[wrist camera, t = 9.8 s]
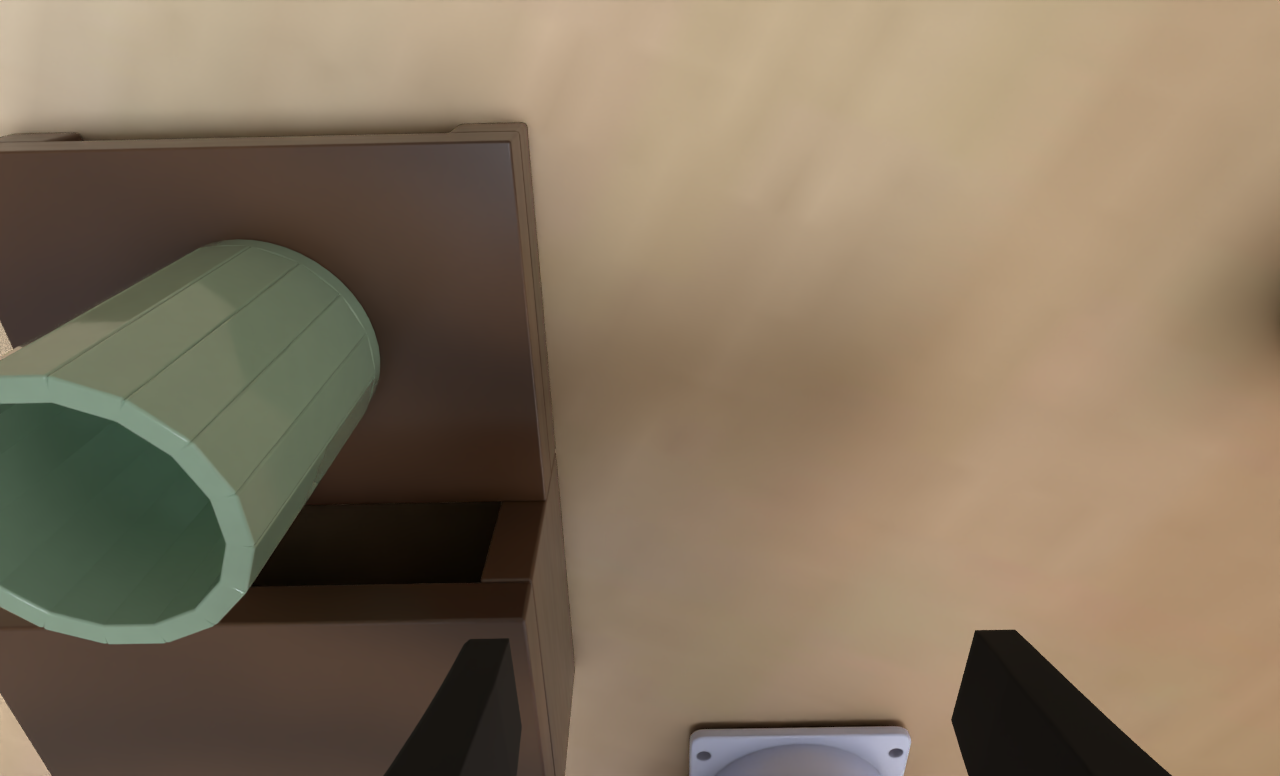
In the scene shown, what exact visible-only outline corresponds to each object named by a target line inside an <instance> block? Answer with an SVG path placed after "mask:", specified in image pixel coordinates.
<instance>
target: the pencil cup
mask: <svg viewBox="0 0 1280 776" xmlns="http://www.w3.org/2000/svg"><path fill="white" fill-rule="evenodd" d="M379 374H380V354H379V346H378V342H377V339H376V335H375V331H374V329H373V327H372V324H371V322H370V320H369V318H368V316H367V314H366V312H365V311H364V309H363V307H362V306H361V304H360V303H359V302H358V300H357V299H356V297H355V296H354V295H353V293H352V292H351V291H350V290H349V289H348V288H347V287H346V286H345V285H344V284H343V283H342V282H341V281H340V280H339V279H338V278H337V277H336V276H334V275H333V274H332V273H331V272H330V271H328V270H327V269H326V268H324V267H323V266H321V265H320V264H318V263H317V262H315V261H313V260H312V259H310V258H308V257H306V256H304V255H302V254H301V253H298V252H296V251H293V250H291V249H288V248H286V247H283V246H279V245H276V244H272V243H268V242H262V241H256V240H242V239H235V240H223V241H218V242H214V243H209V244H206V245H203V246H201V247H198V248H196V249H194V250H192V251H190V252H188V253H187V254H185V255H183V256H181V257H179V258H177V259H175V260H173V261H171V262H169V263H167V264H165V265H163V266H161V267H159V268H157V269H156V270H154V271H152V272H150V273H149V274H147V275H145V276H143V277H141V278H140V279H138V280H136V281H134V282H132V283H131V284H129V285H127V286H125V287H124V288H122V289H120V290H118V291H116V292H115V293H113V294H111V295H109V296H107V297H106V298H104V299H102V300H100V301H99V302H97V303H95V304H93V305H91V306H90V307H88V308H86V309H84V310H82V311H81V312H79V313H77V314H75V315H73V316H72V317H70V318H68V319H66V320H65V321H63V322H61V323H59V324H57V325H56V326H54V327H52V328H50V329H48V330H47V331H45V332H43V333H41V334H40V335H38V336H36V337H34V338H32V339H31V340H29V341H27V342H25V343H23V344H22V345H20V346H18V347H16V348H14V349H13V350H11V351H9V352H7V353H6V354H4V355H2V356H0V607H1V608H3V609H5V610H7V611H9V612H11V613H13V614H15V615H17V616H19V617H21V618H23V619H25V620H27V621H29V622H31V623H33V624H35V625H37V626H39V627H42V628H43V627H44V629H46V630H50V631H54V632H58V633H62V634H66V635H70V636H74V637H78V638H82V639H86V640H90V641H94V642H98V643H103V644H106V643H108V644H110V645H112V644H164V643H166V642H167V643H169V642H172V641H175V640H177V639H180V638H183V637H186V636H188V635H191V634H194V633H197V632H199V631H202V630H205V629H208V628H210V627H213V626H214V625H216V624H217V623H219V622H220V621H221V620H222V619H223V617H224V616H225V615H226V614H227V613H228V612H229V611H230V610H231V609H232V608H233V607H234V606H235V605H236V604H237V603H238V602H239V600H240V599H241V598H242V597H243V596H244V595H245V594H246V593H247V591H248V590H249V588H250V587H251V585H252V584H253V582H254V581H255V579H256V578H257V576H258V575H259V573H260V572H261V570H262V569H263V567H264V566H265V564H266V563H267V561H268V560H269V558H270V556H271V555H272V553H273V552H274V550H275V549H276V547H277V546H278V544H279V543H280V541H281V540H282V538H283V537H284V535H285V534H286V532H287V531H288V529H289V528H290V526H291V525H292V523H293V522H294V520H295V519H296V517H297V516H298V514H299V513H300V511H301V509H302V508H303V506H304V505H305V503H306V502H307V500H308V499H309V497H310V496H311V494H312V493H313V491H314V490H315V488H316V487H317V485H318V484H319V482H320V481H321V479H322V478H323V476H324V475H325V473H326V472H327V470H328V469H329V467H330V466H331V464H332V462H333V461H334V459H335V458H336V456H337V455H338V453H339V452H340V450H341V449H342V447H343V446H344V444H345V443H346V441H347V440H348V438H349V437H350V435H351V434H352V432H353V431H354V429H355V428H356V426H357V425H358V423H359V422H360V420H361V419H362V417H363V415H364V414H365V412H366V410H367V408H368V405H369V403H370V401H371V400H372V398H373V396H374V394H375V391H376V388H377V385H378V380H379Z"/></svg>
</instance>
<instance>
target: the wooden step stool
mask: <svg viewBox="0 0 1280 776" xmlns="http://www.w3.org/2000/svg"><path fill="white" fill-rule="evenodd" d="M235 239H242V240H256V241H262V242H268V243H272V244H276V245H279V246H283V247H286V248H288V249H291V250H293V251H296V252H298V253H301V254H302V255H304V256H306V257H308V258H310V259H312V260H313V261H315V262H317V263H318V264H320V265H321V266H323V267H324V268H326V269H327V270H328V271H330V272H331V273H332V274H333V275H334V276H336V277H337V278H338V279H339V280H340V281H341V282H342V283H343V284H344V285H345V286H346V287H347V288H348V289H349V290H350V291H351V292H352V293H353V295H354V296H355V297H356V299H357V300H358V302H359V303H360V304H361V306H362V307H363V309H364V311H365V312H366V314H367V316H368V318H369V320H370V322H371V324H372V327H373V329H374V331H375V335H376V339H377V342H378V346H379V354H380V374H379V380H378V385H377V388H376V391H375V394H374V396H373V398H372V400H371V401H370V403H369V405H368V408H367V410H366V412H365V414H364V415H363V417H362V419H361V420H360V422H359V423H358V425H357V426H356V428H355V429H354V431H353V432H352V434H351V435H350V437H349V438H348V440H347V441H346V443H345V444H344V446H343V447H342V449H341V450H340V452H339V453H338V455H337V456H336V458H335V459H334V461H333V462H332V464H331V466H330V467H329V469H328V470H327V472H326V473H325V475H324V476H323V478H322V479H321V481H320V482H319V484H318V485H317V487H316V488H315V490H314V491H313V493H312V494H311V496H310V497H309V499H308V500H307V502H306V503H305V505H332V504H387V503H442V502H497V501H502V503H501V506H500V510H499V514H498V517H497V521H496V525H495V528H494V532H493V536H492V540H491V543H490V547H489V551H488V554H487V558H486V562H485V565H484V569H483V573H482V576H481V580H480V583H429V584H371V585H314V586H256V587H250V588H249V590H248V591H247V593H246V594H245V595H244V596H243V597H242V598H241V599H240V600H239V602H238V603H237V604H236V605H235V606H234V607H233V608H232V609H231V610H230V611H229V612H228V613H227V614H226V615H225V616H224V617H223V619H222V620H221V621H220V622H219V623H217V624H216V625H214V626H213V627H210V628H208V629H205V630H202V631H199V632H197V633H194V634H191V635H188V636H186V637H183V638H180V639H177V640H175V641H172V642H169V643H167V642H166V643H164V644H112V645H110V644H108V643H106V644H103V643H98V642H94V641H90V640H86V639H82V638H78V637H74V636H70V635H66V634H62V633H58V632H54V631H50V630H46V629H44V627H43V628H42V627H39V626H37V625H35V624H33V623H31V622H29V621H27V620H25V619H23V618H21V617H19V616H17V615H15V614H13V613H11V612H9V611H7V610H5V609H3V608H1V607H0V694H1V695H2V697H3V698H4V700H5V702H6V703H7V705H8V706H9V708H10V710H11V711H12V713H13V714H14V716H15V718H16V719H17V721H18V722H19V724H20V726H21V727H22V729H23V730H24V732H25V734H26V735H27V737H28V738H29V740H30V741H31V743H32V745H33V746H34V748H35V749H36V751H37V753H38V754H39V756H40V757H41V759H42V761H43V762H44V764H45V765H46V767H47V769H48V770H49V772H50V773H51V775H52V776H384V774H385V773H386V771H387V770H388V768H389V767H390V765H391V764H392V762H393V761H394V759H395V758H396V756H397V755H398V753H399V752H400V750H401V749H402V747H403V746H404V744H405V742H406V741H407V739H408V738H409V736H410V735H411V733H412V732H413V730H414V729H415V727H416V726H417V724H418V723H419V721H420V719H421V718H422V716H423V715H424V713H425V711H426V710H427V708H428V706H429V705H430V703H431V701H432V700H433V698H434V696H435V695H436V693H437V691H438V690H439V688H440V686H441V685H442V683H443V681H444V679H445V678H446V676H447V674H448V672H449V671H450V669H451V667H452V665H453V663H454V662H455V660H456V658H457V656H458V654H459V652H460V650H461V649H462V647H463V645H464V644H465V643H466V642H467V641H468V640H469V639H497V638H509V641H510V648H511V655H512V662H513V669H514V676H515V683H516V690H517V697H518V704H519V711H520V718H521V724H522V730H521V740H520V749H519V759H518V769H517V776H565V768H566V757H567V747H568V736H569V725H570V715H571V704H572V693H573V683H574V672H575V664H574V653H573V641H572V630H571V619H570V607H569V596H568V584H567V573H566V562H565V550H564V539H563V528H562V516H561V505H560V494H559V482H558V471H557V460H556V453H555V437H554V426H553V415H552V403H551V392H550V381H549V369H548V358H547V346H546V335H545V324H544V312H543V301H542V290H541V278H540V267H539V256H538V244H537V233H536V222H535V210H534V199H533V188H532V176H531V165H530V154H529V142H528V131H527V126H526V124H524V123H490V124H461V125H459V126H457V127H456V128H455V129H453V130H452V131H450V132H449V133H423V134H377V135H331V136H285V137H238V138H192V139H146V140H100V141H83V140H82V138H81V136H80V134H78V133H30V134H11V135H7V136H2V137H0V321H1V324H2V326H3V328H4V330H5V332H6V334H7V336H8V339H9V341H10V343H11V345H12V347H13V349H14V348H16V347H18V346H20V345H22V344H23V343H25V342H27V341H29V340H31V339H32V338H34V337H36V336H38V335H40V334H41V333H43V332H45V331H47V330H48V329H50V328H52V327H54V326H56V325H57V324H59V323H61V322H63V321H65V320H66V319H68V318H70V317H72V316H73V315H75V314H77V313H79V312H81V311H82V310H84V309H86V308H88V307H90V306H91V305H93V304H95V303H97V302H99V301H100V300H102V299H104V298H106V297H107V296H109V295H111V294H113V293H115V292H116V291H118V290H120V289H122V288H124V287H125V286H127V285H129V284H131V283H132V282H134V281H136V280H138V279H140V278H141V277H143V276H145V275H147V274H149V273H150V272H152V271H154V270H156V269H157V268H159V267H161V266H163V265H165V264H167V263H169V262H171V261H173V260H175V259H177V258H179V257H181V256H183V255H185V254H187V253H188V252H190V251H192V250H194V249H196V248H198V247H201V246H203V245H206V244H209V243H214V242H218V241H223V240H235Z"/></svg>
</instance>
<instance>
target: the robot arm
mask: <svg viewBox="0 0 1280 776" xmlns="http://www.w3.org/2000/svg"><path fill="white" fill-rule="evenodd" d="M951 720H952V724H953V727H954V730H955V734H956V737H957V740H958V744H959V747H960V750H961V754H962V757H963V760H964V763H965V766H966V769H967V772H968V775H969V776H1172V775H1170V774H1169V773H1168V772H1167V771H1166V770H1165V769H1164V768H1162V767H1161V766H1160V765H1159V764H1158V763H1157V762H1156V761H1154V760H1153V759H1152V758H1151V757H1150V756H1149V755H1148V754H1147V753H1146V752H1144V751H1143V750H1142V749H1141V748H1140V747H1139V746H1138V745H1137V744H1136V743H1135V742H1133V741H1132V740H1131V739H1130V738H1129V737H1128V736H1127V735H1126V734H1125V733H1124V732H1122V731H1121V730H1120V729H1119V728H1118V727H1117V726H1116V725H1115V724H1114V723H1113V722H1112V721H1111V720H1110V719H1108V718H1107V717H1106V716H1105V715H1104V714H1103V713H1102V712H1101V711H1100V710H1099V709H1098V708H1097V707H1096V706H1095V705H1094V704H1092V703H1091V702H1090V701H1089V700H1088V699H1087V698H1086V697H1085V696H1084V695H1083V694H1082V693H1081V692H1080V691H1079V690H1078V689H1077V688H1076V687H1075V686H1073V685H1072V684H1071V683H1070V682H1069V681H1068V680H1067V679H1066V678H1065V677H1064V676H1063V675H1062V674H1061V673H1060V672H1059V671H1058V670H1057V669H1056V668H1055V667H1054V666H1053V665H1052V664H1051V663H1050V662H1049V661H1047V660H1046V659H1045V658H1044V657H1043V656H1042V655H1041V654H1040V653H1039V652H1038V651H1037V650H1036V649H1035V648H1034V647H1033V646H1032V645H1031V644H1030V643H1029V642H1028V641H1027V640H1025V639H1024V638H1023V637H1022V636H1021V635H1020V634H1019V633H1018V632H1017V631H1016V630H975V633H974V637H973V641H972V645H971V648H970V652H969V656H968V660H967V663H966V667H965V671H964V674H963V678H962V682H961V686H960V689H959V693H958V697H957V701H956V704H955V708H954V712H953V716H952V719H951ZM521 730H522V724H521V718H520V711H519V704H518V697H517V690H516V683H515V676H514V669H513V662H512V655H511V648H510V641H509V638H497V639H469V640H468V641H467V642H466V643H465V644H464V645H463V647H462V649H461V650H460V652H459V654H458V656H457V658H456V660H455V662H454V663H453V665H452V667H451V669H450V671H449V672H448V674H447V676H446V678H445V679H444V681H443V683H442V685H441V686H440V688H439V690H438V691H437V693H436V695H435V696H434V698H433V700H432V701H431V703H430V705H429V706H428V708H427V710H426V711H425V713H424V715H423V716H422V718H421V719H420V721H419V723H418V724H417V726H416V727H415V729H414V730H413V732H412V733H411V735H410V736H409V738H408V739H407V741H406V742H405V744H404V746H403V747H402V749H401V750H400V752H399V753H398V755H397V756H396V758H395V759H394V761H393V762H392V764H391V765H390V767H389V768H388V770H387V771H386V773H385V774H384V776H517V769H518V759H519V749H520V740H521ZM910 745H911V738H910V735H909V733H908V731H907V730H906V729H905V728H903V727H900V726H869V727H806V728H744V729H701V730H697V731H695V732H694V733H693V734H692V735H691V736H690V747H689V776H903V775H904V771H905V767H906V762H907V758H908V754H909V750H910Z"/></svg>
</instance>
